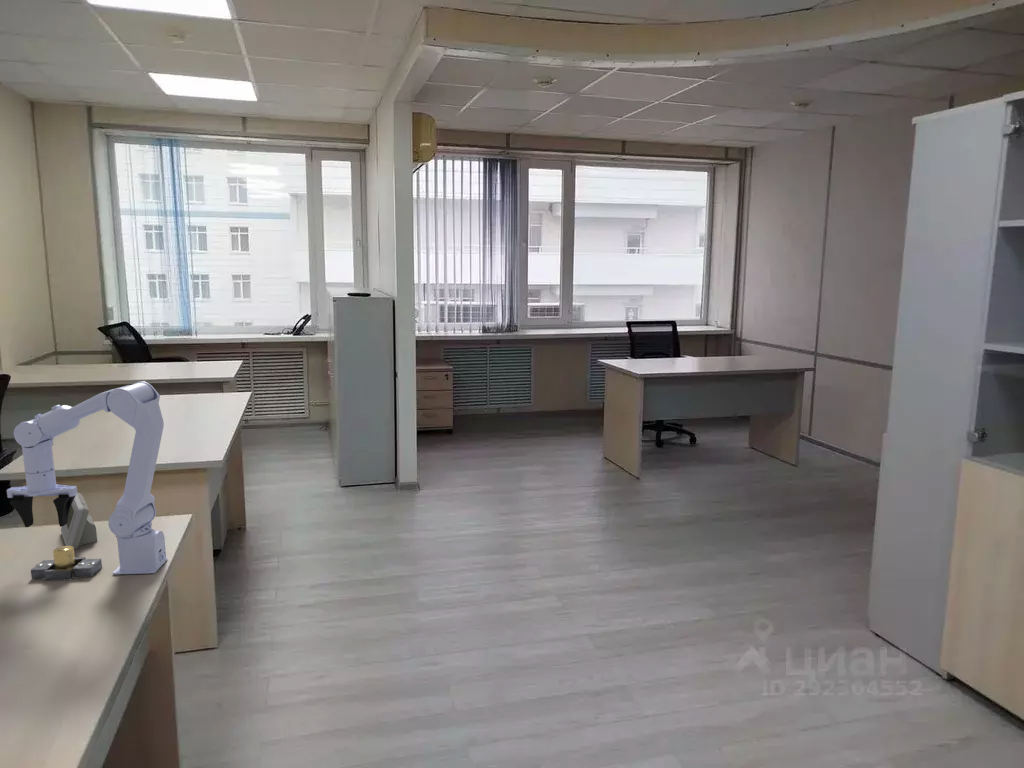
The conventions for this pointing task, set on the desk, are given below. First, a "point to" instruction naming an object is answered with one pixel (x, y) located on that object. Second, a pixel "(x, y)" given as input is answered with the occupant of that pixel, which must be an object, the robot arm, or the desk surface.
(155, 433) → the robot arm
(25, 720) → the desk surface
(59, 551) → the link pin
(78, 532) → the digital clock
